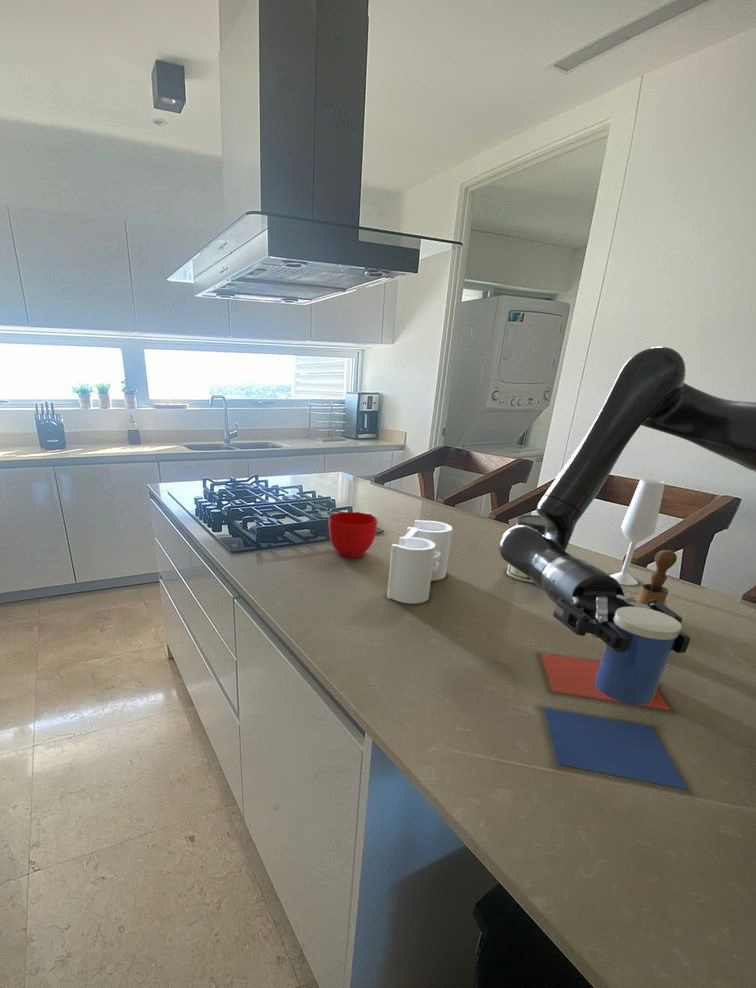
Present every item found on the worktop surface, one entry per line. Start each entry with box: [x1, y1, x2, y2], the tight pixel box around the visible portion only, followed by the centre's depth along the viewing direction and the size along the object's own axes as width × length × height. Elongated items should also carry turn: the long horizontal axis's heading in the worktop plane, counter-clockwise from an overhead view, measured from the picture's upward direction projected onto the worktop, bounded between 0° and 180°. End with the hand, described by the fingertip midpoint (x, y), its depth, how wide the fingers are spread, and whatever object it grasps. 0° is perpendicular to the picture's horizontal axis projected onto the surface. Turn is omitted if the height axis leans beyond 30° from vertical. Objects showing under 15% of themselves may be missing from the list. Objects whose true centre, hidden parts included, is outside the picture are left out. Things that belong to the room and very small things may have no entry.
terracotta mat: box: [540, 653, 671, 711], centre depth 78 cm, size 16×12×1 cm
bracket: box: [386, 519, 453, 605], centre depth 112 cm, size 25×10×12 cm, turn 154°
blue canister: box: [594, 607, 683, 706], centre depth 59 cm, size 7×7×10 cm
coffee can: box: [506, 514, 546, 584], centre depth 118 cm, size 10×10×14 cm
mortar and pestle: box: [637, 549, 678, 605], centre depth 86 cm, size 7×6×18 cm
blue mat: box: [543, 707, 689, 790], centre depth 64 cm, size 14×12×1 cm
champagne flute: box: [609, 478, 666, 586], centre depth 114 cm, size 7×7×24 cm
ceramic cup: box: [328, 511, 378, 559], centre depth 133 cm, size 13×17×10 cm
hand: (654, 645), depth 56 cm, fingers closed on blue canister, 6 cm apart
